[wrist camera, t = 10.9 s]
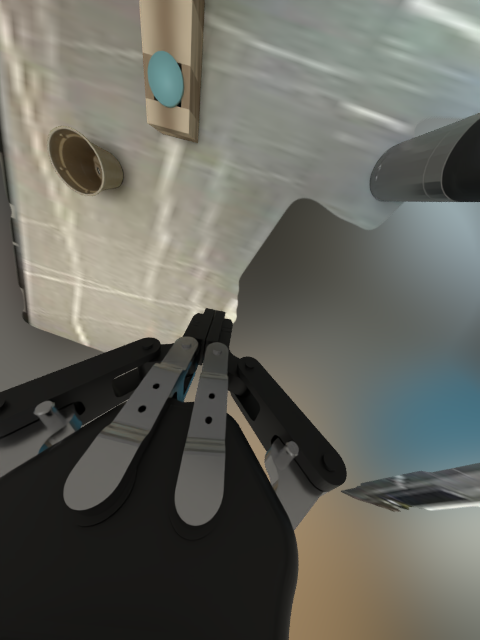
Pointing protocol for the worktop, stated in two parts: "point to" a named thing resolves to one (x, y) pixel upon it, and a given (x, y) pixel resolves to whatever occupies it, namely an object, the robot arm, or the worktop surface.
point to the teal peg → (165, 79)
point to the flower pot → (82, 162)
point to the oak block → (186, 48)
